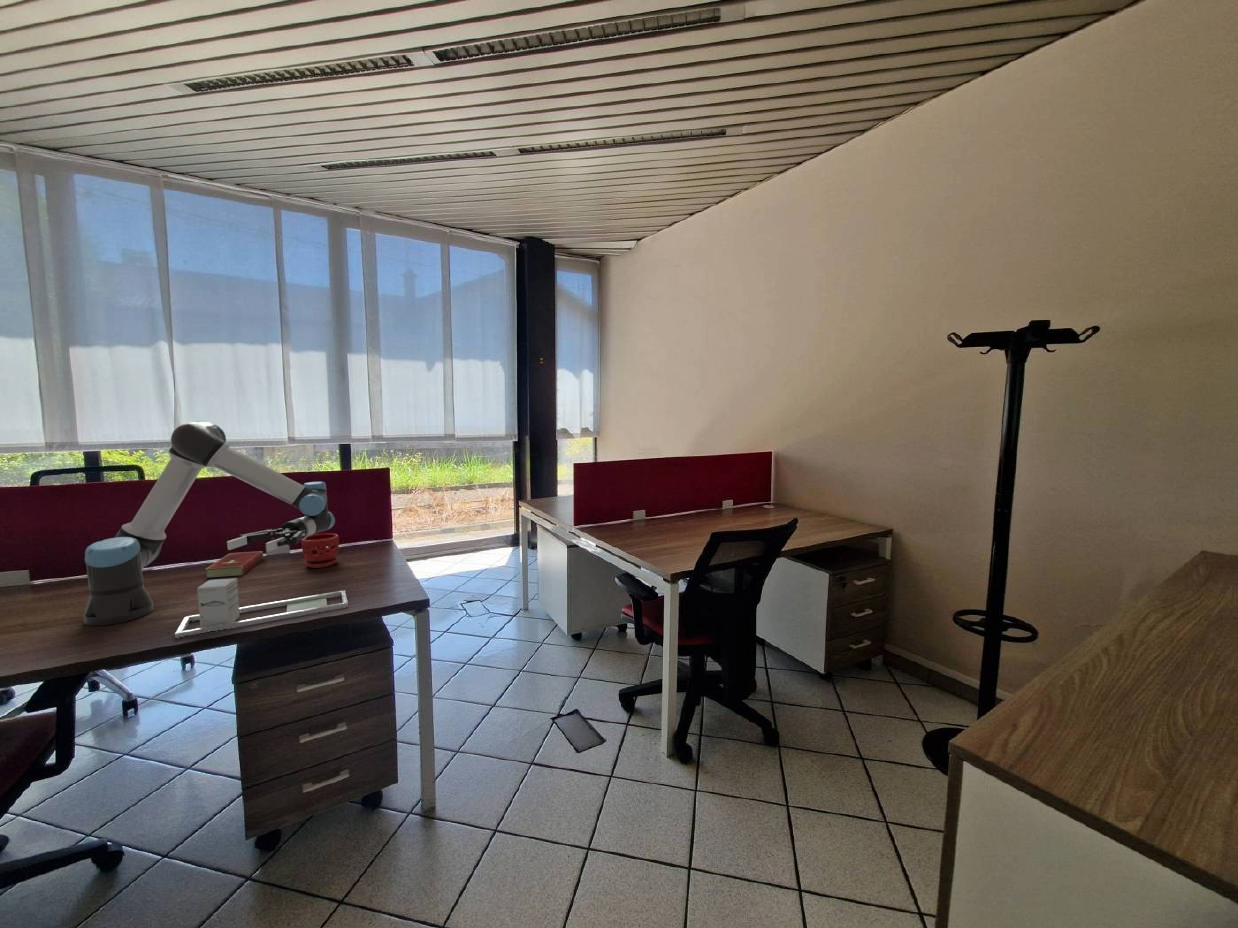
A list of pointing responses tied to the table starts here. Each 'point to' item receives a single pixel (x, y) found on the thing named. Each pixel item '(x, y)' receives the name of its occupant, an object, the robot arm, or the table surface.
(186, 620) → the rail track
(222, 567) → the hardcover book
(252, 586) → the table surface
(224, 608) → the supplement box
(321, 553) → the plant pot
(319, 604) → the pad
